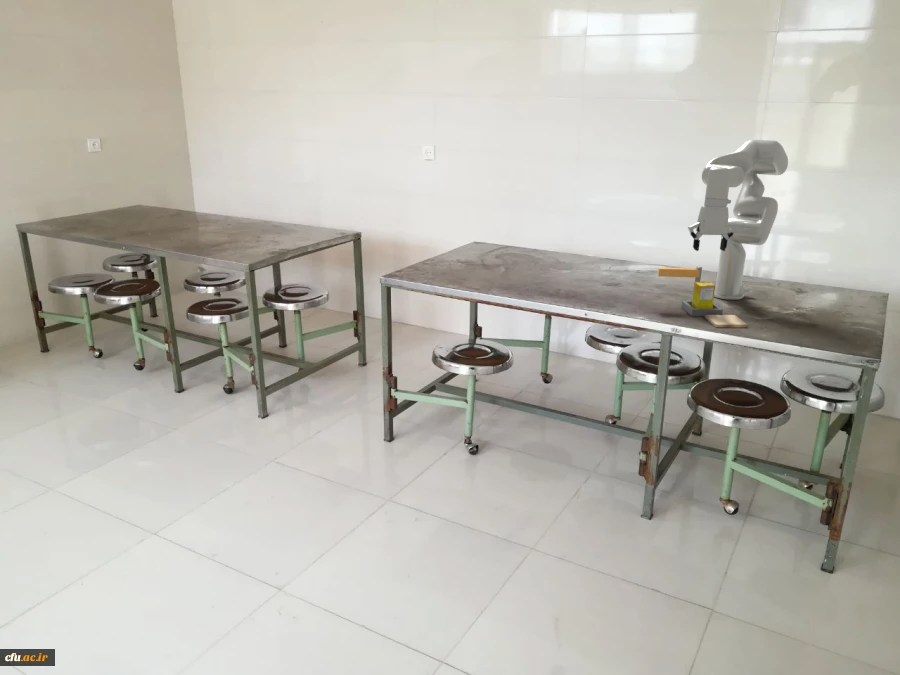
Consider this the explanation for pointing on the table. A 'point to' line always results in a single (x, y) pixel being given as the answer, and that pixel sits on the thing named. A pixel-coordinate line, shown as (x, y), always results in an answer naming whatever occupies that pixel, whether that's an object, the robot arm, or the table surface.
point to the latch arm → (681, 272)
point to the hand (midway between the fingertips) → (709, 250)
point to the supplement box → (703, 295)
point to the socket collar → (701, 312)
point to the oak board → (725, 321)
